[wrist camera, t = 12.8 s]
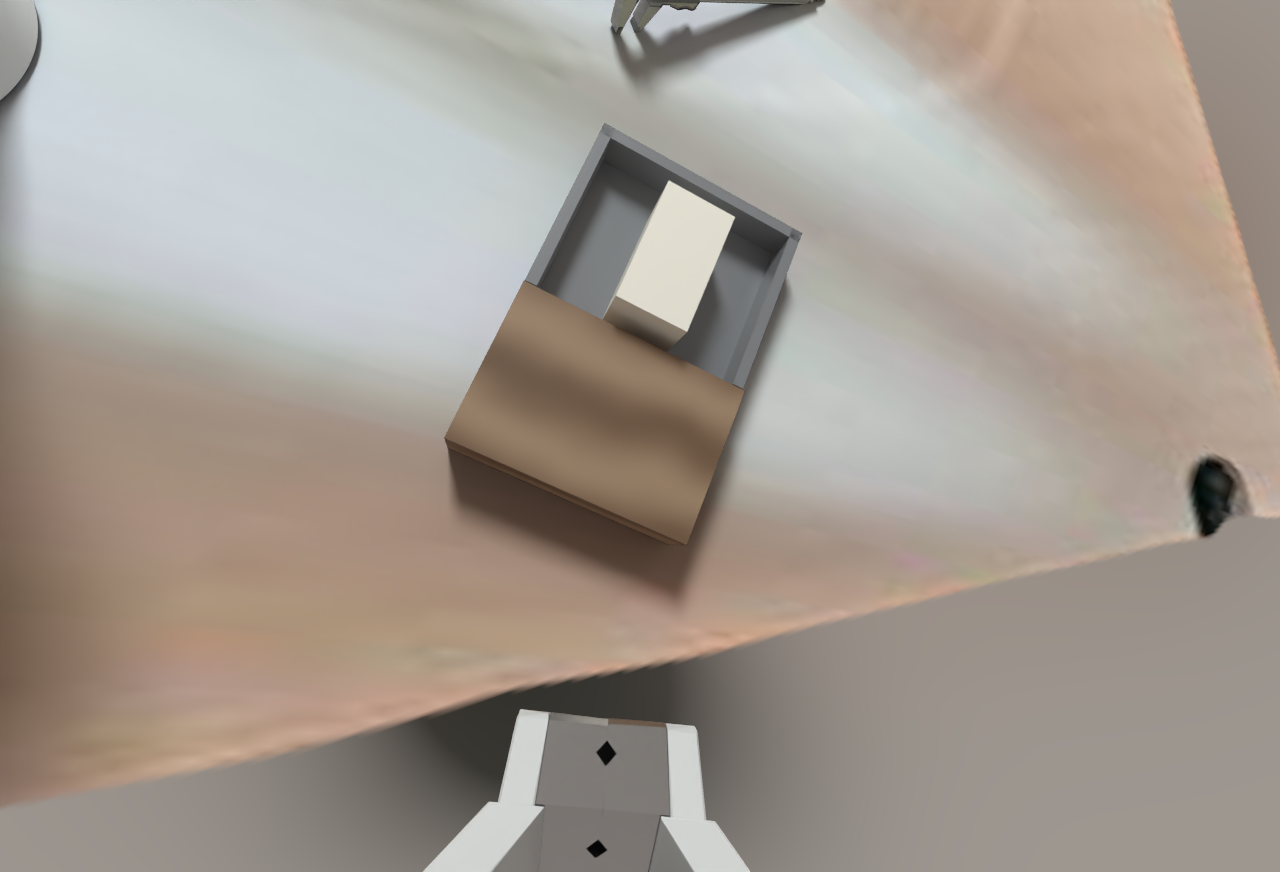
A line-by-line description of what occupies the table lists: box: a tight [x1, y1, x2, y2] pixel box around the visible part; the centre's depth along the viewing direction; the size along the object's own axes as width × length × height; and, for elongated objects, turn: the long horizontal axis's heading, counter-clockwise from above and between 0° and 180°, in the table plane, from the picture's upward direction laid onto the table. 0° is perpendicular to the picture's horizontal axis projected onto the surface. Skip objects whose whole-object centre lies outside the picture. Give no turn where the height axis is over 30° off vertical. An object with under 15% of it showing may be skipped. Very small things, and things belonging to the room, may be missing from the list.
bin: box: [525, 123, 802, 389], centre depth 43 cm, size 13×16×4 cm
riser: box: [444, 281, 745, 545], centre depth 40 cm, size 11×16×4 cm
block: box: [602, 181, 735, 352], centre depth 42 cm, size 5×5×9 cm
